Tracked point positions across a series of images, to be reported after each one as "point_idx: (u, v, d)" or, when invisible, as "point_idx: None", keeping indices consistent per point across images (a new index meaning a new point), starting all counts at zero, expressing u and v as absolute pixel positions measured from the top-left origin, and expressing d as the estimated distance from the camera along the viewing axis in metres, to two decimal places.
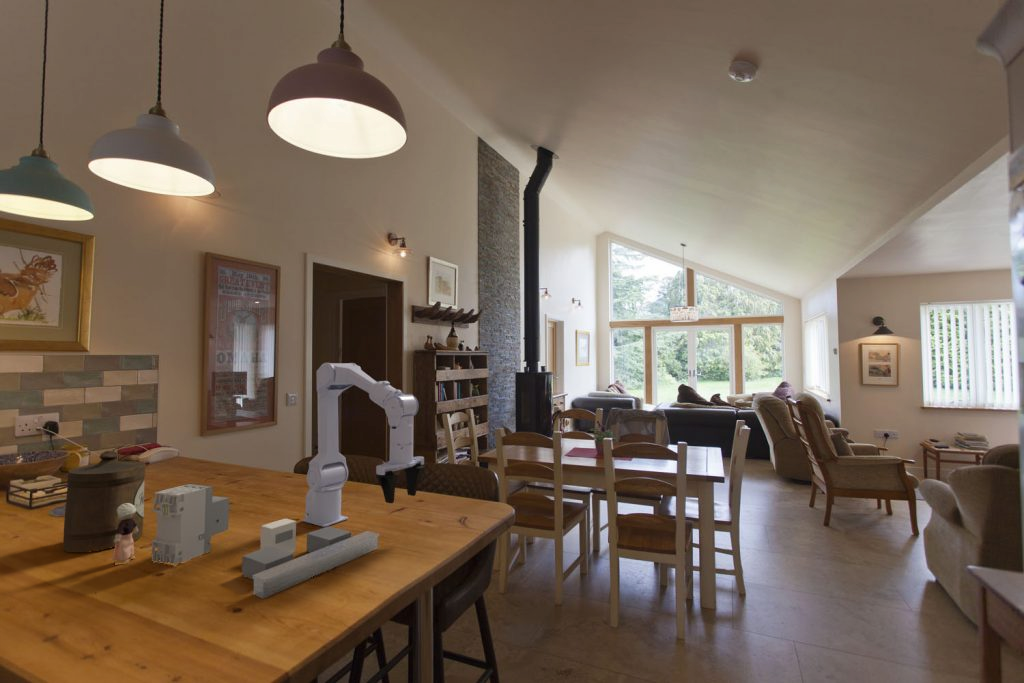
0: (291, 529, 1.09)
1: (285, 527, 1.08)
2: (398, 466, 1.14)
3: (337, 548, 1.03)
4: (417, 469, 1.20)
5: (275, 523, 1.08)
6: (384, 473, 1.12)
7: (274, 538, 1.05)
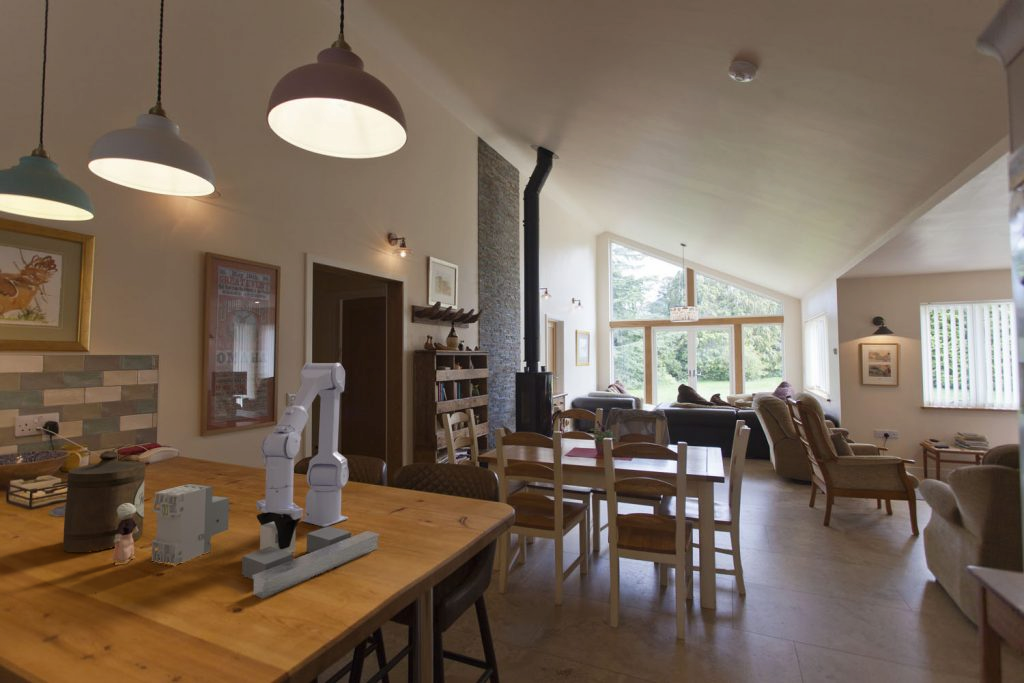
0: None
1: None
2: (262, 507, 1.08)
3: (337, 548, 1.03)
4: None
5: None
6: (258, 508, 1.11)
7: (273, 538, 1.05)
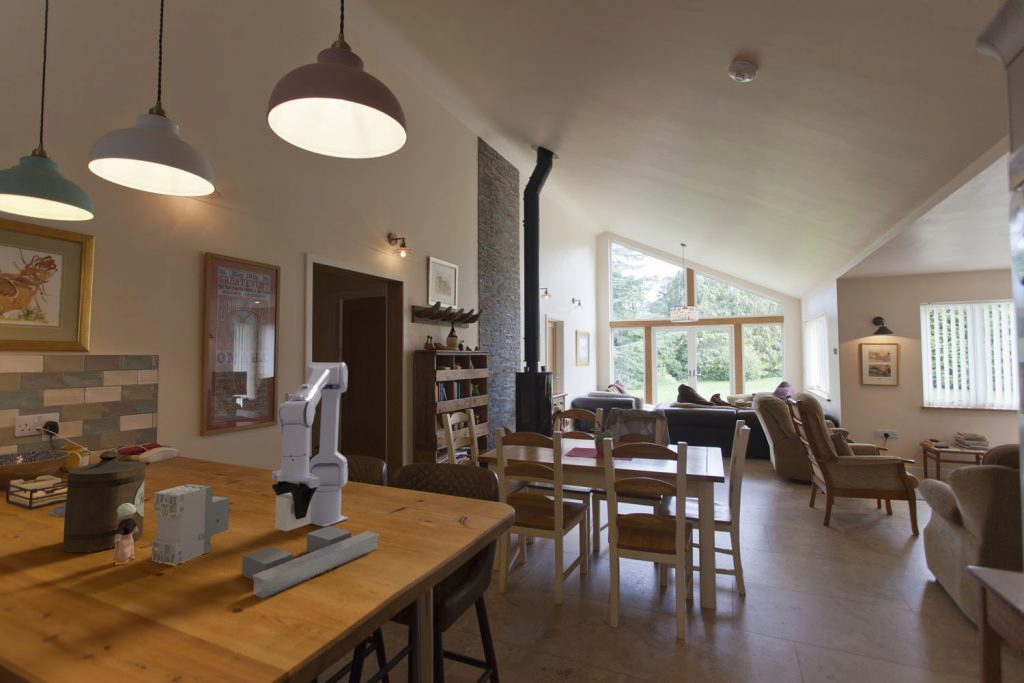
0: None
1: None
2: (277, 476, 1.06)
3: (337, 548, 1.03)
4: None
5: (290, 493, 1.06)
6: (273, 479, 1.09)
7: (289, 508, 1.03)
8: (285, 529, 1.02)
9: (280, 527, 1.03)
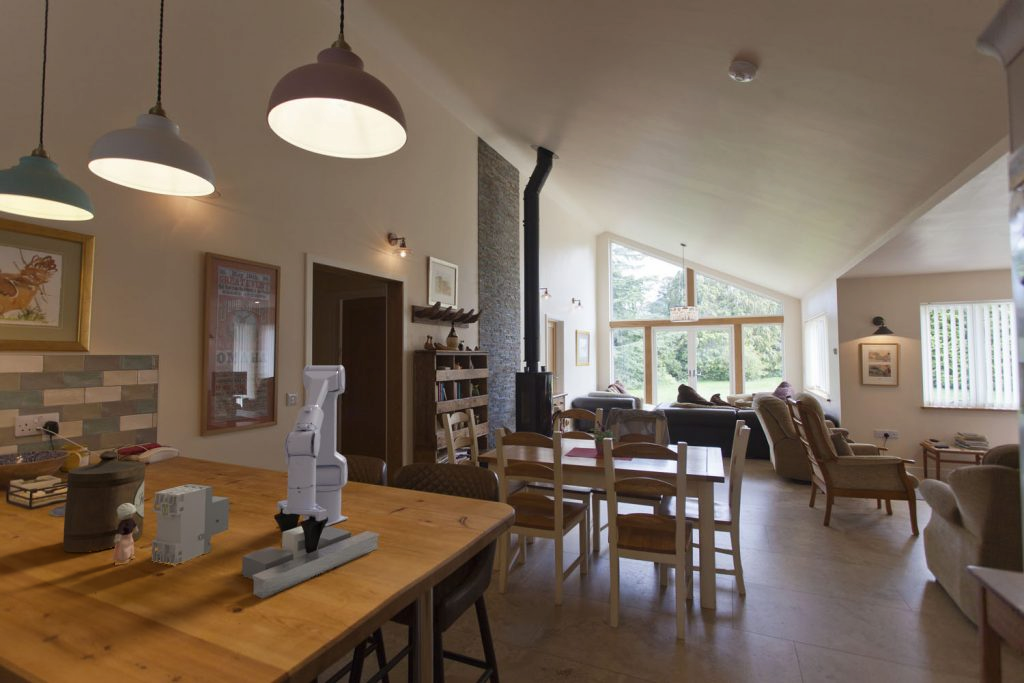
0: None
1: None
2: (283, 508, 1.04)
3: (337, 548, 1.03)
4: None
5: (297, 529, 1.04)
6: (279, 509, 1.07)
7: (296, 545, 1.01)
8: None
9: None
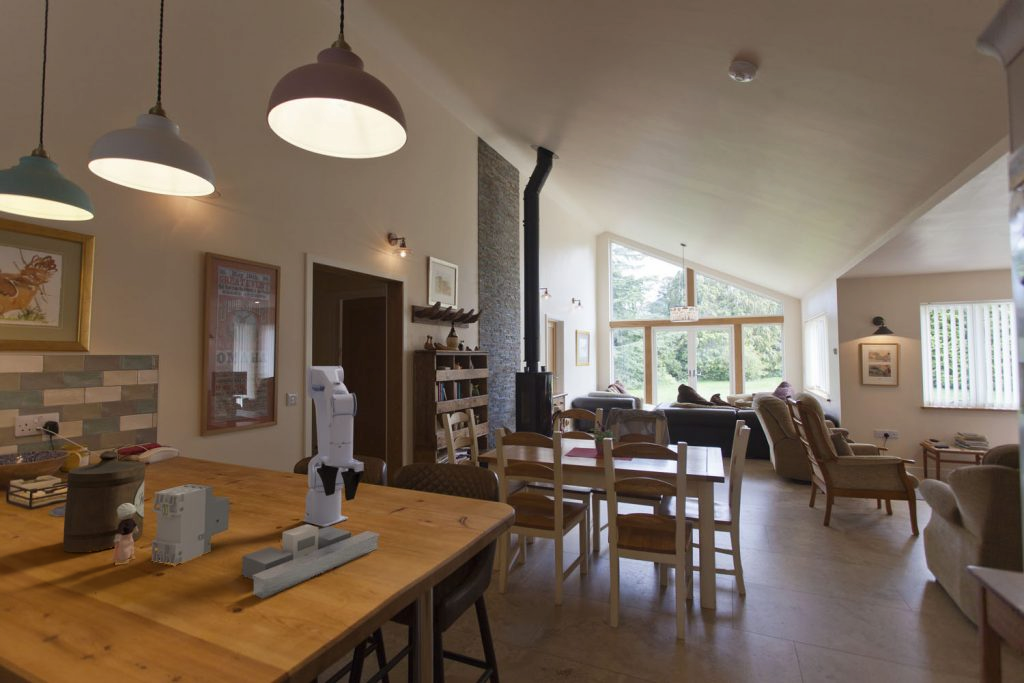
0: (313, 536, 1.05)
1: (307, 534, 1.04)
2: (325, 462, 1.18)
3: (337, 548, 1.03)
4: None
5: (297, 529, 1.04)
6: (320, 464, 1.21)
7: (296, 545, 1.01)
8: None
9: None
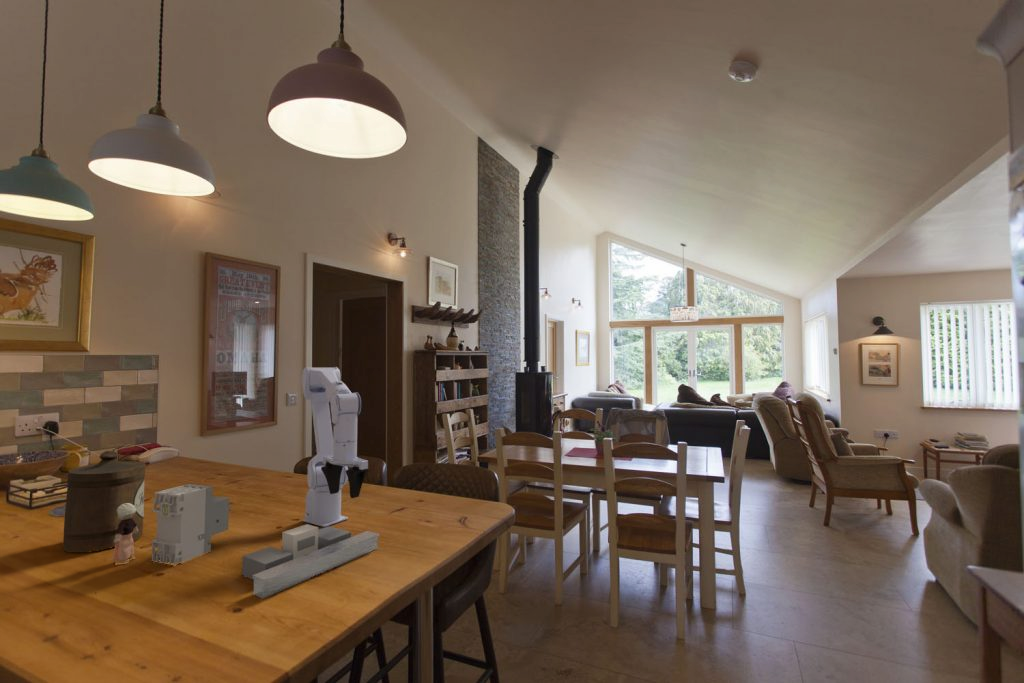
0: (313, 536, 1.05)
1: (307, 534, 1.04)
2: (329, 460, 1.20)
3: (337, 548, 1.03)
4: None
5: (297, 529, 1.04)
6: (325, 463, 1.22)
7: (296, 545, 1.01)
8: None
9: None
